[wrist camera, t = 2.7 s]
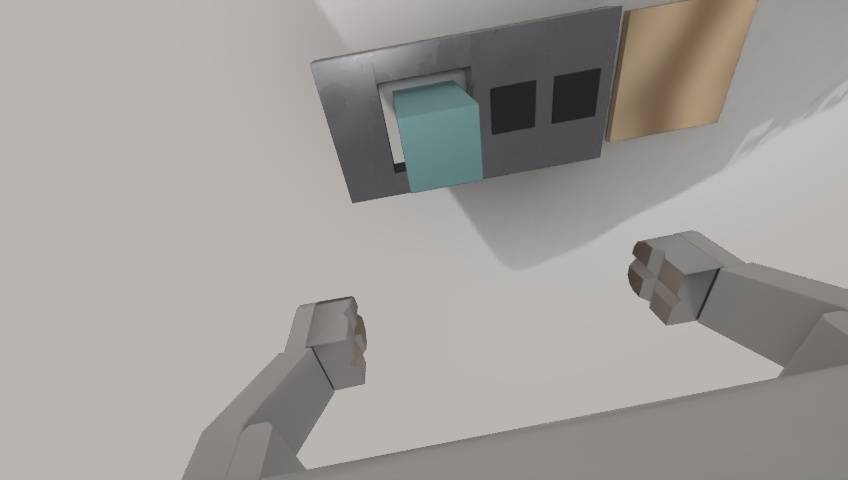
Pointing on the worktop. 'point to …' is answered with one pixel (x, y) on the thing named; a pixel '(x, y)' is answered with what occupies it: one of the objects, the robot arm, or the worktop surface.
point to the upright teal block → (439, 135)
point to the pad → (676, 65)
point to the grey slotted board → (482, 95)
